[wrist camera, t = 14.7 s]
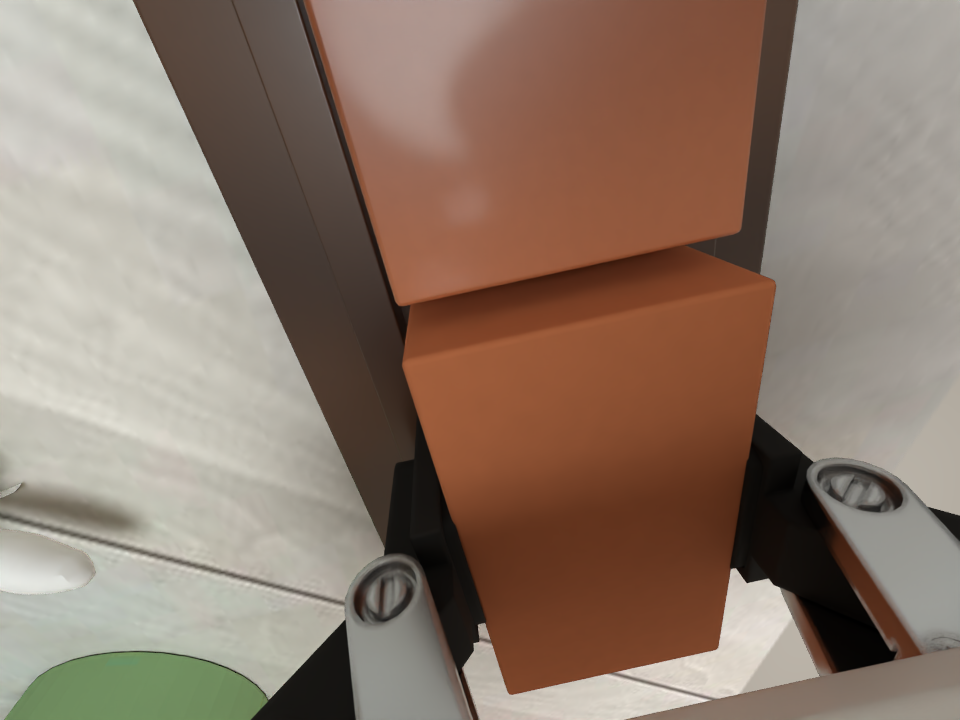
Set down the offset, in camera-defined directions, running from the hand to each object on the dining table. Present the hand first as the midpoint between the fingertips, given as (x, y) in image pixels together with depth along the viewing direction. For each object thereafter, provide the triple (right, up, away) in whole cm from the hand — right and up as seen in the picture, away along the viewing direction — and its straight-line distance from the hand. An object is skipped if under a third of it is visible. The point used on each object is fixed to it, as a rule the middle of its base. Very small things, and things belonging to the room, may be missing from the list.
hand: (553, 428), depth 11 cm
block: (0, 0, 0) cm, 0 cm away
